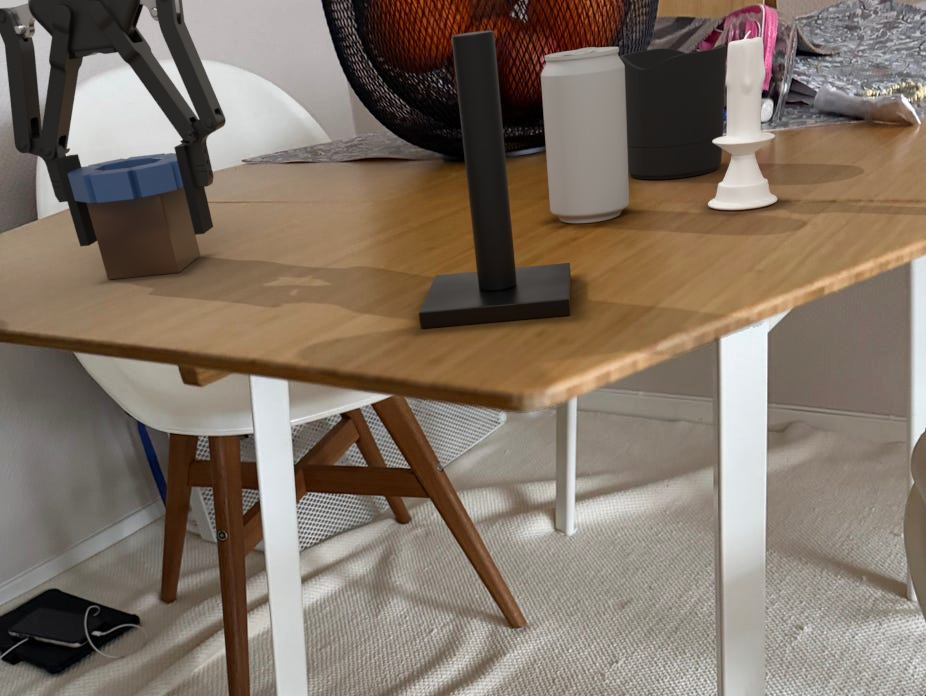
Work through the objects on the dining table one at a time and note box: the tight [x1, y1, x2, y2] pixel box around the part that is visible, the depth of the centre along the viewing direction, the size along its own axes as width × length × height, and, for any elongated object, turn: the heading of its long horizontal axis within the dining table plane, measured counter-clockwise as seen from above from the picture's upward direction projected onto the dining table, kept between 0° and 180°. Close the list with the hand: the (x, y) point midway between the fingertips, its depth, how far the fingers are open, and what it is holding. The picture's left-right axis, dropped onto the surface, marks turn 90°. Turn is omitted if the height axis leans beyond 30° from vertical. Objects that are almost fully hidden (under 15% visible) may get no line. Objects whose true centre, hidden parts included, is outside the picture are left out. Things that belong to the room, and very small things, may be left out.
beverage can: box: [540, 46, 630, 224], centre depth 86 cm, size 6×6×12 cm
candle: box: [707, 30, 778, 211], centre depth 83 cm, size 5×5×12 cm
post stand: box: [418, 30, 572, 330], centre depth 65 cm, size 9×9×15 cm
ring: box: [68, 152, 184, 203], centre depth 87 cm, size 9×9×2 cm
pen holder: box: [618, 43, 728, 180], centre depth 99 cm, size 9×9×10 cm
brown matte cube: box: [87, 188, 201, 281], centre depth 89 cm, size 6×6×6 cm
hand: (147, 236), depth 89 cm, fingers closed on ring, 9 cm apart
